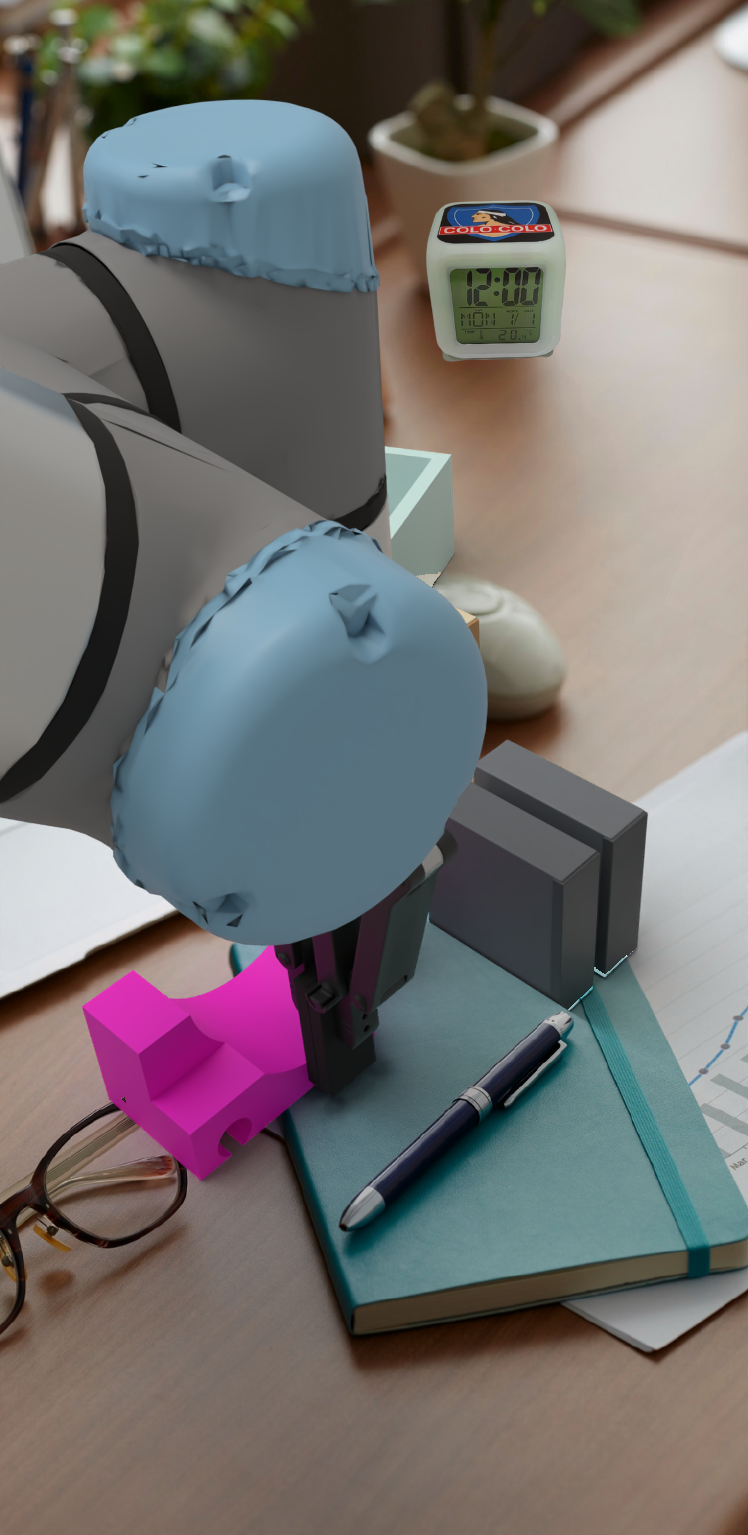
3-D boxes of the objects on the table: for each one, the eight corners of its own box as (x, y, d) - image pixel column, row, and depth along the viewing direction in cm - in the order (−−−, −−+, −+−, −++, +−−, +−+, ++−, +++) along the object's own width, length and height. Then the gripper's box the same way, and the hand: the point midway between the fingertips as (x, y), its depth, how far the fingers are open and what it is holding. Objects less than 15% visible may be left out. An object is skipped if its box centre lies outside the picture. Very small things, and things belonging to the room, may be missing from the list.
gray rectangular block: (558, 1023, 66) (563, 883, 60) (429, 939, 70) (421, 802, 65) (593, 991, 67) (600, 851, 61) (463, 910, 72) (459, 774, 66)
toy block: (205, 1200, 59) (178, 1088, 55) (114, 1118, 63) (81, 1006, 58) (445, 995, 67) (439, 881, 63) (352, 932, 71) (340, 820, 66)
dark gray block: (605, 980, 67) (613, 840, 62) (475, 901, 72) (472, 764, 66) (637, 949, 69) (648, 810, 63) (508, 874, 73) (507, 737, 68)
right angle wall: (296, 529, 102) (286, 434, 97) (454, 552, 98) (451, 454, 94) (224, 619, 94) (208, 518, 89) (393, 647, 90) (387, 544, 85)
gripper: (508, 635, 45) (512, 1097, 60) (238, 512, 53) (302, 951, 67) (341, 750, 41) (390, 1214, 56) (75, 599, 49) (181, 1044, 64)
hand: (342, 1070), depth 62 cm, fingers closed
